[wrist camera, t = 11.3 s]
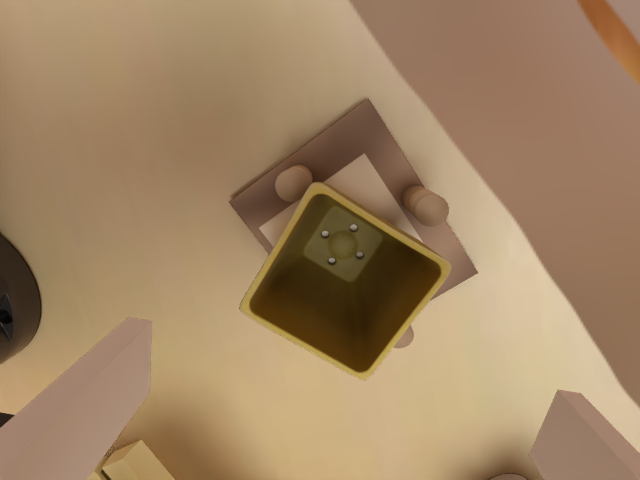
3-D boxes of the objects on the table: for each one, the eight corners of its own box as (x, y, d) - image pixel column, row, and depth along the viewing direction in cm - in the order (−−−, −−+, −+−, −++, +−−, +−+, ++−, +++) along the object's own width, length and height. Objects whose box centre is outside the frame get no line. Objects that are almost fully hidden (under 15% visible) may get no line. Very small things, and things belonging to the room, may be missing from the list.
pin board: (232, 199, 28) (204, 215, 22) (367, 99, 25) (375, 87, 20) (343, 344, 31) (344, 390, 25) (473, 268, 29) (507, 300, 23)
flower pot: (266, 259, 28) (234, 311, 19) (321, 165, 26) (313, 178, 17) (357, 311, 29) (365, 384, 20) (418, 225, 27) (457, 266, 18)
